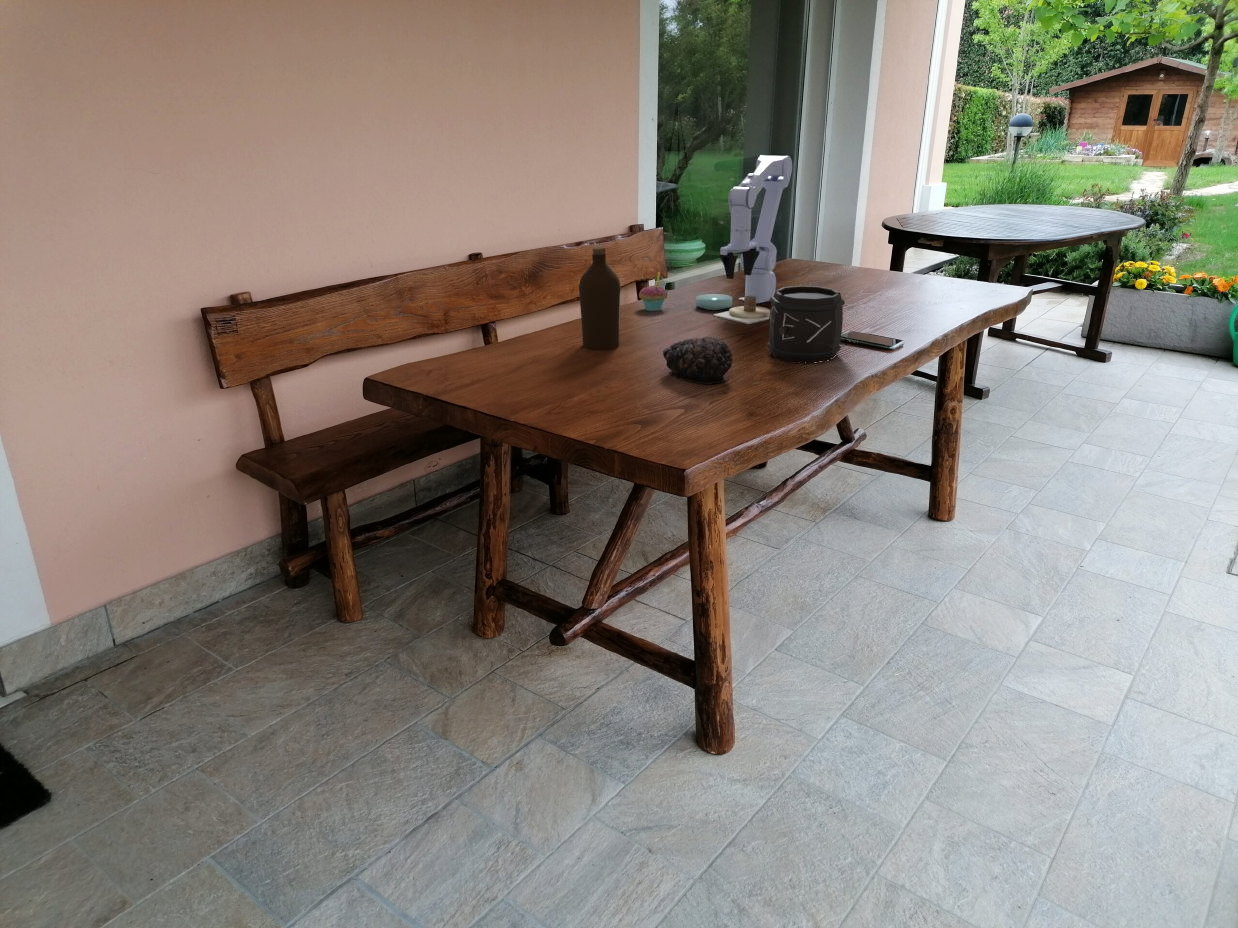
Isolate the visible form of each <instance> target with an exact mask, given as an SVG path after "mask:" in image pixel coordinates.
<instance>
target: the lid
mask: <svg viewBox="0 0 1238 928" xmlns="http://www.w3.org/2000/svg"><path fill="white" fill-rule="evenodd" d="M728 311H729V314H730V315H731V316H733V317H738V318H747V319H755V318H764V317H768V316H769V315H770V310H769V308H768V307H762V306H757V303H756V296H745V295H744V301H743V305H742V306H734V307H730V308H729V310H728Z"/></svg>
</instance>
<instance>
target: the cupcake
mask: <svg viewBox="0 0 1238 928" xmlns="http://www.w3.org/2000/svg"><path fill="white" fill-rule="evenodd" d="M660 275H661V269H659V270H658V272H657V278H656V283H655V285H647V286H645V287H643V288H642V289H640V290H639V294H638V296H639V298H640V299H641V300H642V302H643V306H644V309H645V310H646V311H649V312H655V311H656V312H657V311H661V310H662V308H663V304H664V301H665V300H666V299H668V291H667V290H666V289H665V288H664V287H662V286H659V282H660Z"/></svg>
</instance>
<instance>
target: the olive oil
mask: <svg viewBox="0 0 1238 928" xmlns="http://www.w3.org/2000/svg"><path fill="white" fill-rule="evenodd" d="M591 255H592V257H591V259H592V263H591V265H590V266H589V267H588V268H587V269H586V271H585V272H584V273H583V274H582V276H581V277H580V279H579V280H580V281H579V285H578V293H579V294H578V297H579V305H580V307H579V308H580V318H581V319H580V320H581V334H582V335H581V336H582V346H583V347H584V348H585V349H587V350H593V351H607V350H613V349H616V348H618V347H619V345H620V318H621V317H620V316H621V315H620V314H621V313H620V312H621V289H622V288H621V287H622V286H621V282H620V279H619V277H618V276H617V274H616V273H615V272H614V271H613V269H612V268H611V267H610V266H609V265H608V264H607V254H606V248H605V247H603V246H602V247H601V246H600V247H593V248H592V254H591Z"/></svg>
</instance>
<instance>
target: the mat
mask: <svg viewBox="0 0 1238 928" xmlns="http://www.w3.org/2000/svg"><path fill="white" fill-rule="evenodd" d="M768 309H769V308H768ZM770 309H771V308H770ZM770 309H769V310H770ZM712 316H713V317H716V318H721V319H725V320H729V321H734V322H737V323H743V324H746V325H750V324H755V323H756V324H757V323H759V322H764V321H769V316H768V317H764V318H755V319H747V318H738V317H733V316H731V315H730V314H729V310H727V311H723V312H719V313H713V314H712Z"/></svg>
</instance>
